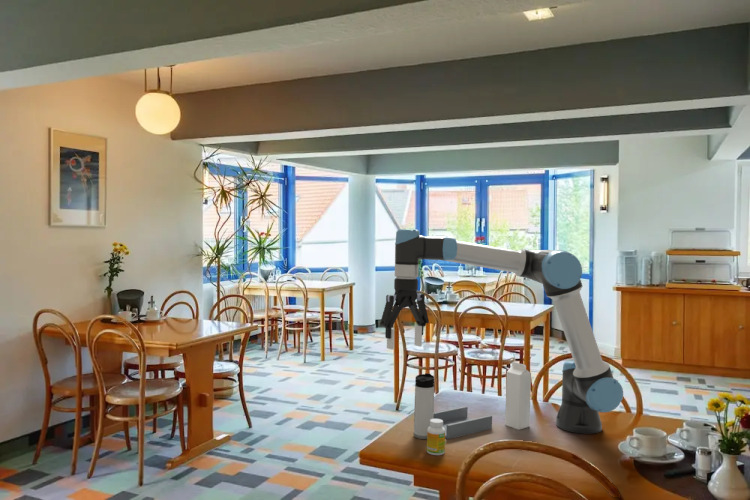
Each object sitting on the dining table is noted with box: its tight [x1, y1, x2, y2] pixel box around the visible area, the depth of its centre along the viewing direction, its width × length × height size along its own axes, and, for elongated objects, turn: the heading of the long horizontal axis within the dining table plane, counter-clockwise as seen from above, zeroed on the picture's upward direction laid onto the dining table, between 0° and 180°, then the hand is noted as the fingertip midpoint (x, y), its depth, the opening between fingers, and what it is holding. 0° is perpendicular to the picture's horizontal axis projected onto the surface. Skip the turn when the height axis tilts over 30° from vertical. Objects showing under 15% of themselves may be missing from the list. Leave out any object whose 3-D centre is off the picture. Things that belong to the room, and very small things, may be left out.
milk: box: [504, 361, 532, 430], centre depth 201 cm, size 6×6×22 cm
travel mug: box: [413, 373, 435, 440], centre depth 188 cm, size 6×7×20 cm
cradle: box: [433, 405, 493, 440], centre depth 197 cm, size 13×20×4 cm, turn 125°
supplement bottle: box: [426, 419, 446, 456], centre depth 174 cm, size 5×5×10 cm
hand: (404, 347), depth 183 cm, fingers open, 10 cm apart
